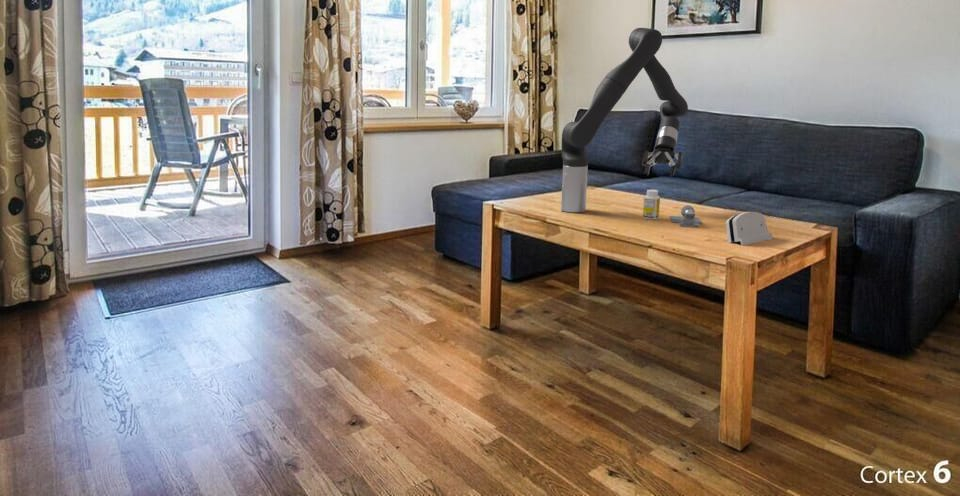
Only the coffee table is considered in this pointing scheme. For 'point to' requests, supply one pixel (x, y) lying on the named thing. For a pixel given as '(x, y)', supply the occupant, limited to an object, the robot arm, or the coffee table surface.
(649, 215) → the supplement bottle
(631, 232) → the coffee table surface
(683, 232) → the coffee table surface
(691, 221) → the shaft stub
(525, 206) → the coffee table surface
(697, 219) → the plate
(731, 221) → the grey rounded slab
